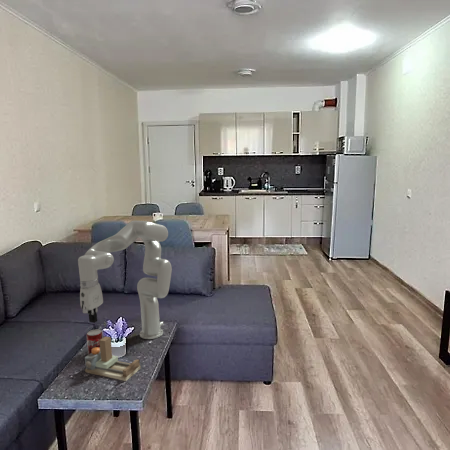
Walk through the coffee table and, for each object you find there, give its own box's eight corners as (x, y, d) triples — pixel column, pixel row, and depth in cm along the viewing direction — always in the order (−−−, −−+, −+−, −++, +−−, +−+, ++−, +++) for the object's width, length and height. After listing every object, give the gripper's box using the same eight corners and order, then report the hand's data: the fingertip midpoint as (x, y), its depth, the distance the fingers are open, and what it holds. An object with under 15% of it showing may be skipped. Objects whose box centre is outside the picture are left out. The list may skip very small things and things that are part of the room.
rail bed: (101, 360, 190) (100, 346, 189) (140, 368, 181) (139, 354, 180) (85, 372, 180) (84, 357, 179) (125, 381, 171) (124, 365, 170)
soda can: (99, 359, 191) (97, 335, 189) (85, 358, 193) (83, 335, 191) (106, 352, 198) (104, 329, 196) (93, 351, 200) (91, 328, 198)
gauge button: (95, 356, 186) (95, 346, 185) (102, 357, 184) (101, 348, 184) (90, 359, 182) (89, 350, 182) (96, 361, 181) (96, 351, 180)
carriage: (107, 358, 186) (105, 334, 184) (118, 360, 184) (116, 335, 182) (96, 366, 179) (93, 341, 177) (106, 369, 177) (104, 343, 175)
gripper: (84, 289, 169) (88, 329, 172) (107, 278, 183) (110, 316, 186) (70, 287, 172) (75, 327, 175) (94, 277, 186) (97, 314, 189)
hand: (93, 321), depth 181 cm, fingers closed
